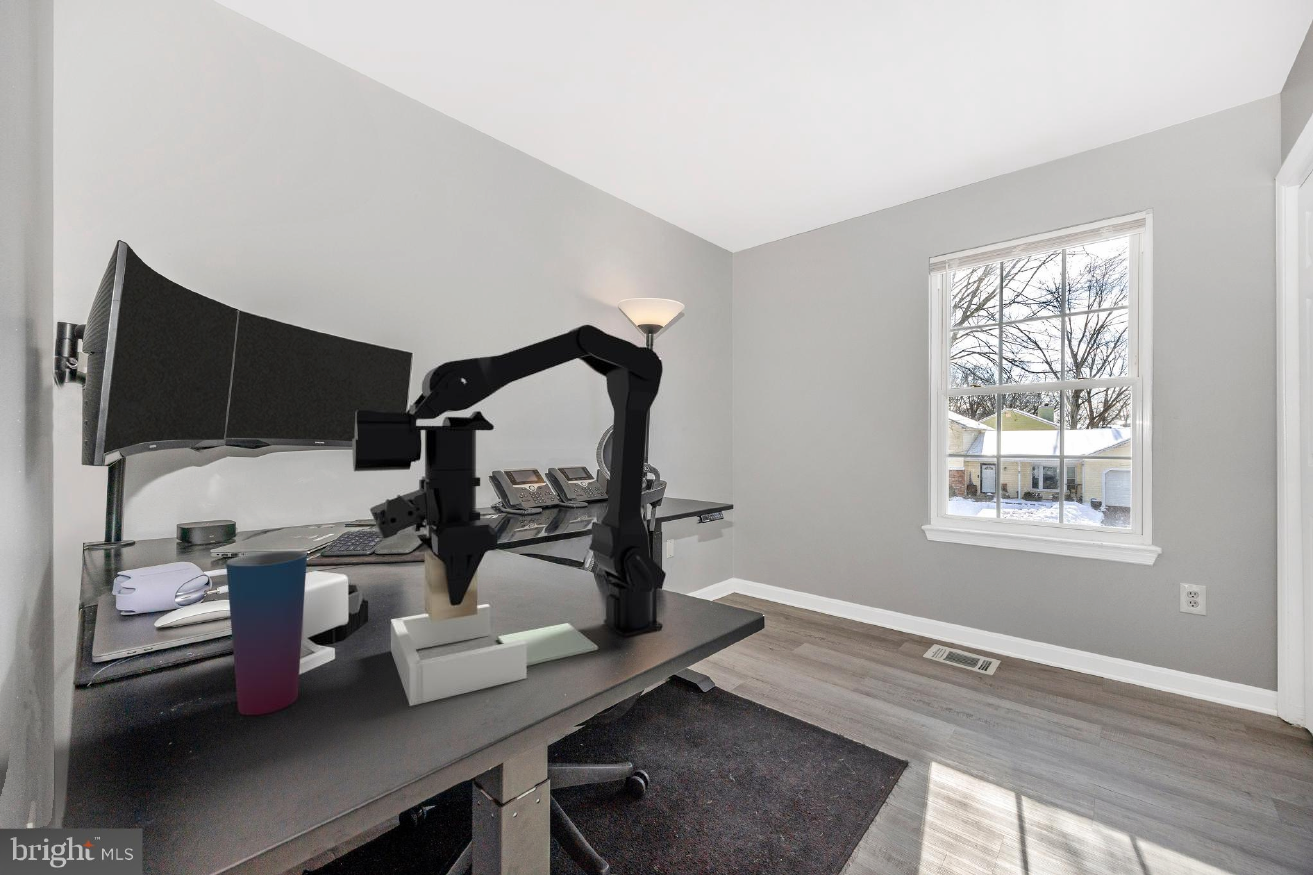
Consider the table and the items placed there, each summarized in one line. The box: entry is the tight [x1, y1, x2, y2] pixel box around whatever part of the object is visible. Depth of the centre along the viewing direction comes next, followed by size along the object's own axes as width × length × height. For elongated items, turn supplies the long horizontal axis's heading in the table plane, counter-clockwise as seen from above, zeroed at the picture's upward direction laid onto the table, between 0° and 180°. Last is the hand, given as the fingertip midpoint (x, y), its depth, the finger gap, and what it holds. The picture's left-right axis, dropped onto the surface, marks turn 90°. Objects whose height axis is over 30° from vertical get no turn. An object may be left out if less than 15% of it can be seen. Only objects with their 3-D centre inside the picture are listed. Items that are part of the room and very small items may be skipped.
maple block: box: [424, 550, 478, 622], centre depth 66 cm, size 5×5×7 cm
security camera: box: [299, 570, 349, 676], centre depth 67 cm, size 6×7×10 cm
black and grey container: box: [308, 582, 369, 644], centre depth 77 cm, size 10×6×10 cm
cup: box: [225, 550, 308, 716], centre depth 57 cm, size 7×7×15 cm
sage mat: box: [497, 622, 599, 667], centre depth 73 cm, size 10×10×1 cm
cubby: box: [390, 603, 527, 707], centre depth 67 cm, size 12×16×4 cm
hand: (450, 598), depth 66 cm, fingers closed on maple block, 5 cm apart
